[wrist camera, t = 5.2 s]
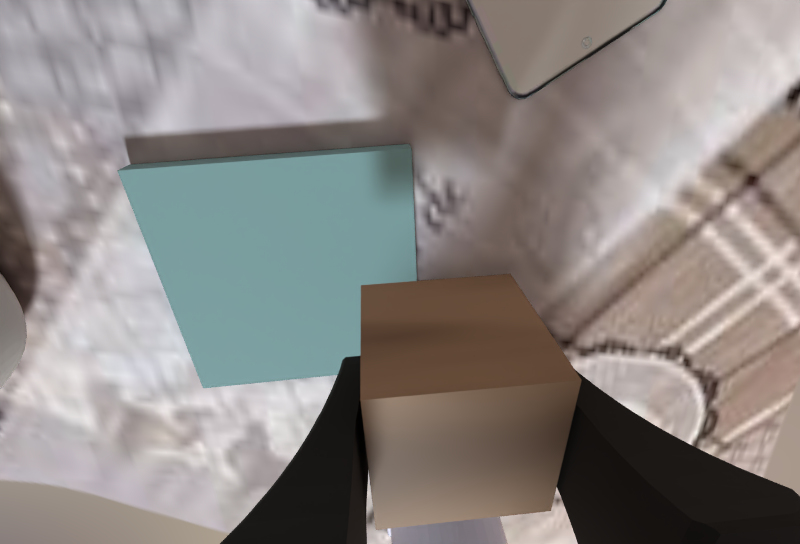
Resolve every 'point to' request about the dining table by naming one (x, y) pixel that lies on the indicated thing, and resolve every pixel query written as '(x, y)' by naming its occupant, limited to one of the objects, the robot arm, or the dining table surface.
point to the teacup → (10, 331)
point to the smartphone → (551, 35)
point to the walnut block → (461, 401)
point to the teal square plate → (275, 253)
